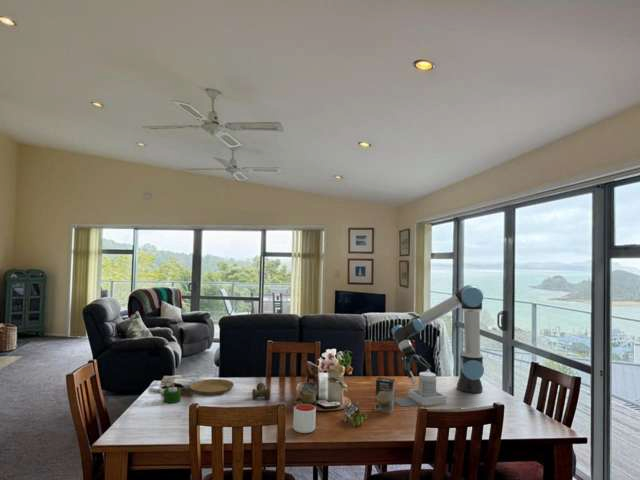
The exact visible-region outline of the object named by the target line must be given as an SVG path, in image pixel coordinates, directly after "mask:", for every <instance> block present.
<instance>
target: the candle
mask: <svg viewBox="0 0 640 480" xmlns="http://www.w3.org/2000/svg"><path fill="white" fill-rule="evenodd" d="M163 392H164V394H163V403H164V404H168V405H174V404H178V403H180V402H181V399H182V398H181V395H182V390H181V389H180V388H178V387H176V386H175V382H174V381H172V383H171V387H169V388H167V389H165V390H164V391H163Z"/></svg>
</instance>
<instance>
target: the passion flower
mask: <svg viewBox="0 0 640 480" xmlns="http://www.w3.org/2000/svg"><path fill="white" fill-rule="evenodd" d="M359 404H360V401H357V402H353V403H351V404H350V402H347V403H346V404H345V405H344V407H343V408H342V410H345V409H346V410H345V411H344V412H343V417H344V423H346V422H348V420H349V419H351V421H352V426H353V427H354V428H356V425H357V426H358V427H359V426H360V425H362V424H363V422H364V420H367V418H368V414H367V413H365V414H362V413H361V412H360V406H359Z"/></svg>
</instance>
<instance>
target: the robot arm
mask: <svg viewBox="0 0 640 480" xmlns="http://www.w3.org/2000/svg"><path fill="white" fill-rule="evenodd" d="M483 301H484V294H483V291H482V290H481V288H479V287H477V286H475V285H471V284H467V285H464V286H463V287H462V288H460V289H459V290H457V291H456V292H455V293H453V295H452V296H451V297H449V298H447V299H445V300H442V301H441V302H439V303H438V304H436V305H434V306H432V307H430V308H429V309H428V310H425V311H424V312H422V313H421V314H418V315H417V316H414V317H412V318H410V319H409V320H408V322H407V324H405V325H403V326H402V325H401V324H397V325H395V326H393V327H392V328H391V334H392V337H393V339H394V341H395V342H396V344H397V346H398V348H399V350H400V351H401V354H402V357H401V358H400V360H401V365H402V372H403V374H404V373H405V375H407V376H408V378H409V379H410V381H411V383H412V385H414V384H416V382H417V380H416V378H415V377H414V375H413V372H412V370H411V366H412V365H414V364H415V365H418V366H420V367H421V368H422V369H423V370H425V372H431V373H433V372H432V371H431V368H432V365H430V363H428V361H427V360H426V359H425V358H424V357H423V356H422V354H418V355H417V354H416V350H415V348H414V347H413V344H412V342H411V341H410V339H409V338H411V337H413V336H415V335H417V334H418V333H420V332H422V331H423V330H424V329H425V328H426V327H425V326H427V325H429V324H430V323H432V322H434V321H436V320H438V319H439V318H442V317H444V316H445V315H448V313H451V312H452V311H454V310H456V309H458V308H461V310H462V311H463V312H464V313H463V318H464V319H463V322H464V324H463V325H464V329H463V330H464V336H463V337H464V340H463V341H464V351H460V355H459V359H460V360H459V363H460V364H459V366H460V367H459V377H458V380H457V383H456V389H457V390H459V391H460V392H464V393H467V394H468V393H469V394H479V393H482V392H483V390H484V389H483V388H484V387H483V386H482V381H481V378H482V377H483V375H484V373H485V368H484V361H483V360H484V359H483V358H484V356H483V354H481V342H480V341H481V337H480V336H481V335H480V333H481V331H480V330H481V327H480V323H481V322H480V313H481V311H482V310H483Z"/></svg>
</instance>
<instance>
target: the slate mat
mask: <svg viewBox="0 0 640 480" xmlns="http://www.w3.org/2000/svg"><path fill="white" fill-rule="evenodd" d="M395 403H396V404H397V405H398V406H400V407H412V406H421V404H419V403H418V402H416V401H414V400H413V399H411V398H409V397H397V398H395V397H394V404H395Z"/></svg>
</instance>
